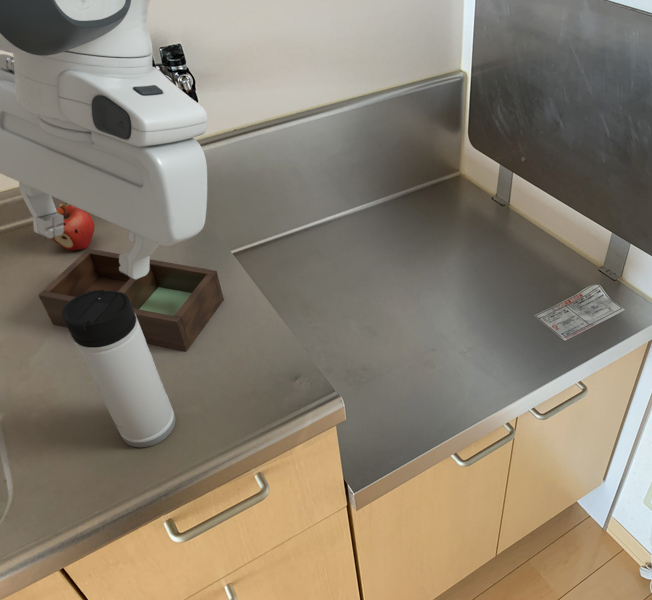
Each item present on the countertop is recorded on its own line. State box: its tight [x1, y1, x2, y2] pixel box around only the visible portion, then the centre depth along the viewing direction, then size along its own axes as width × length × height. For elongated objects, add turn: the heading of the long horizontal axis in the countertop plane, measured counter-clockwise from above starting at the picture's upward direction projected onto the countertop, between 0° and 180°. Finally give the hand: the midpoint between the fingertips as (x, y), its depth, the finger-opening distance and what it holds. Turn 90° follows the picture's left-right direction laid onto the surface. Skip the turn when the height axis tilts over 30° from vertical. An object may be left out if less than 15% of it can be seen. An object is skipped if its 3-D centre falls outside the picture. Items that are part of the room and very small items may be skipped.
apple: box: [51, 202, 96, 251], centre depth 97 cm, size 8×7×10 cm
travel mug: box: [62, 290, 177, 448], centre depth 66 cm, size 6×7×20 cm
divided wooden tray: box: [37, 248, 225, 352], centre depth 87 cm, size 11×21×6 cm, turn 75°
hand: (90, 254), depth 51 cm, fingers open, 8 cm apart
